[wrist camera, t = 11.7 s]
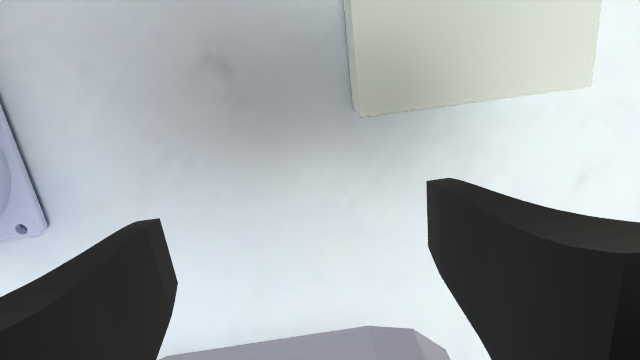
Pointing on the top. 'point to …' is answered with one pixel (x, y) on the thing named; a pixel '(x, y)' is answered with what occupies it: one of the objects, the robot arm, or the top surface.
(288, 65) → the top surface
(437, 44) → the sage stand
